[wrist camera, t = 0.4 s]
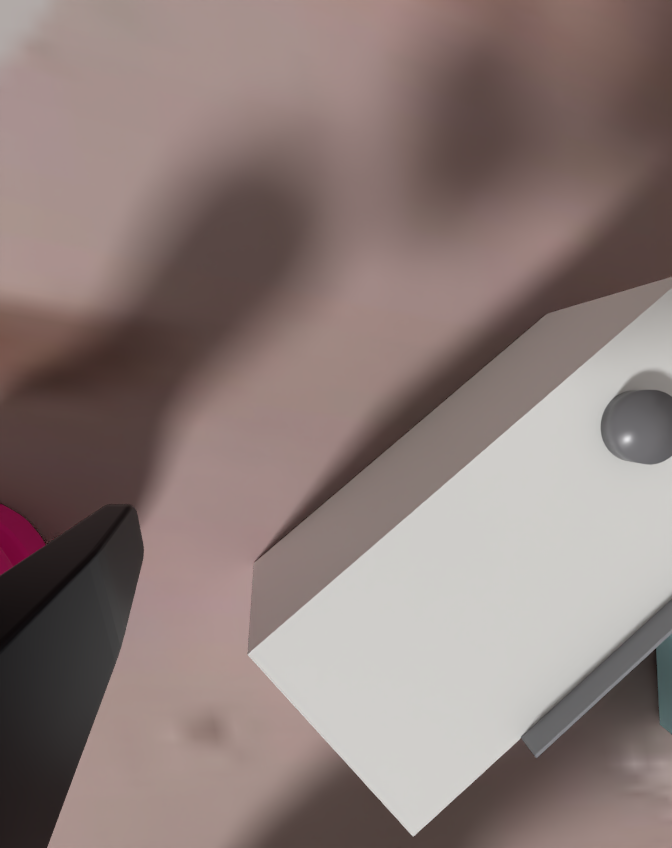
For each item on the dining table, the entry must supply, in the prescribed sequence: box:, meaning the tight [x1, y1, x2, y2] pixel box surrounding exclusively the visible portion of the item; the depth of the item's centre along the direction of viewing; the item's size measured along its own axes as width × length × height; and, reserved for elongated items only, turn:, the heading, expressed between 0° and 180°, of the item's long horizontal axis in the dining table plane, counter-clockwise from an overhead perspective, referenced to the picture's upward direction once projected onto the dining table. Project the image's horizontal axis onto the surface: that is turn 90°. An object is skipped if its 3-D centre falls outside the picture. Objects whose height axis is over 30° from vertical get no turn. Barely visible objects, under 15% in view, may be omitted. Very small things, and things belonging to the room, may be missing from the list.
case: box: [247, 277, 672, 837], centre depth 19 cm, size 18×7×9 cm, turn 130°
